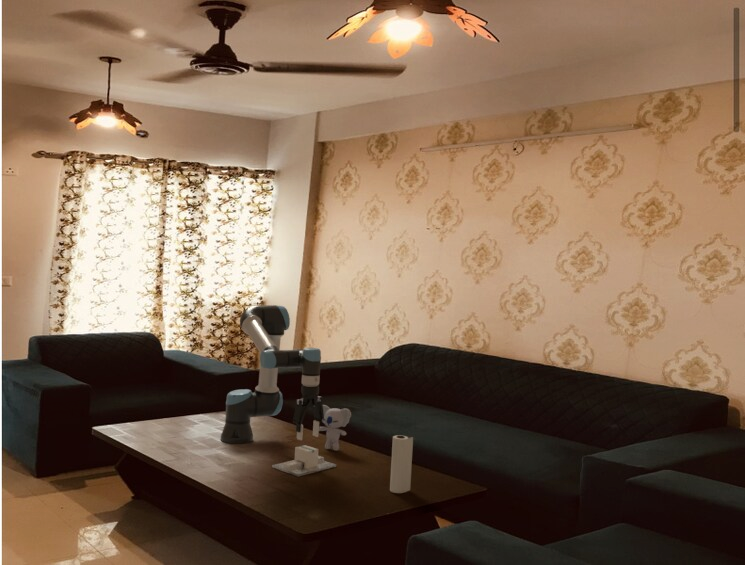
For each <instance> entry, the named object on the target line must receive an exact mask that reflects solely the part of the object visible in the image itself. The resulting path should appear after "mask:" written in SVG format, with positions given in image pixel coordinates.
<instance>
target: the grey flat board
mask: <svg viewBox="0 0 745 565" xmlns="http://www.w3.org/2000/svg"><path fill="white" fill-rule="evenodd" d="M294 460H295V459H292V460H287V461H284V462H281V463H275V464H272V465H271V468H273V469H276V470H278V471H281V472H284V473H285V474H286V473H287V474H290V475H292V476H295V477H303V476H305V475H310V474H314V473H318V472H321V471H325V470H329V469H333V468H336V467H337V464H336V463H332V462H329V461H326V460H325V457H324V456H321V455H318V466H314V467H310V468H305V467H304V464H305V462H302V461H295V462H294Z"/></svg>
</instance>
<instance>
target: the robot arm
mask: <svg viewBox="0 0 745 565" xmlns="http://www.w3.org/2000/svg"><path fill="white" fill-rule="evenodd" d="M290 323H291V318H290V314H289V311H288V309H287V308H286V306H283V305H274V304H273V305H262V304H261V305H258V304H254V305H251V306H248V307H247V308H246V309H245V310H243V311H242V313H241V315H240V317H239V325H240V328H241V330H242V331H243V333H245V334H246V335H248V337H249V338H250V339H251V341H252V343H253V344H254V346H255V347H256V349H257V350H258V352H259V353H260V355H259V364H260V365H259V374H258V385H256V386H255V389H254V392H252V390H251V389H248V388H245V389H243V388H242V389H235V390H231V391H229V392H228V393H227V395H226V401H225V418H224V419H225V420H224V422H225V423H224V426H223V429H222V432H221V434H220V440H221V441H222V442H223V443H228V444H237V445H238V444H240V445H241V444H247V443H248V444H249V443H251V442H252V441H254V434H253V431H252V426H251V418H257V417H258V418H259V417H273V416H277V415H278V414H279V413H280V412H281V410H282V408H283V402H284V398H283V393H282V392H281V391H280V388H279V387H278V386H277V383H278V372H279V369H281V368H282V369H283V368H287V369H288V368H290V369H291V368H301V369H302V371H301V389H300V393H301V395H302V396H301V398H300V399H297V398H296V399H295V408H294V412H293V417H292V423H293V424H296V426H295V427H296V429H295V431H296V440H297V441H302V440H303V436H304V435H303V431H304V424H303V422H304V419H305V416H306V413H307V411H308V410H309V408H311V410H312V415H313V417H314V420H313V422H312V423H313V425H312V437H316V438H318V437H319V434H320V431H319V428H320V427H321V422H322V419H324V413H323V405H324V404H323V401H324V400H323V399H324V397H323V396H319V394H320V380H321V378H320V376H321V375H320V374H321V364H322V363H321V362H322V351H321V349H320V348H317V347H305V348H304V349H302V348H295V349H284V350H283V349H281V347H280V346H281V339H282V337H283V336H284V335H285V331H287V330H289V328H290V325H291V324H290Z"/></svg>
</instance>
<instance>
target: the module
mask: <svg viewBox="0 0 745 565" xmlns="http://www.w3.org/2000/svg"><path fill="white" fill-rule="evenodd" d="M318 456H319V448H316V447H312V446H309V445H305V444H304V445H299V446H295V447H294V459H293V460H294V462H295V461H302V462H305V464H304V467H305V468H310V467H314V466H318Z"/></svg>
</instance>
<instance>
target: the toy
mask: <svg viewBox="0 0 745 565" xmlns="http://www.w3.org/2000/svg"><path fill="white" fill-rule="evenodd" d="M323 413H324V419H322V421H321V422H322V423H323V424H324V426H320V428H319V432H324V431H325V432H326V433H325V437H326V438H325V439H326V442H325V445H324V448H325V449H326V450H330V449H332V450H333V451H336V452H337V451H339V450H340V444H339V439H340V437H341V436H343V437H344V436H346V435H347V432H346V431H345V430H344V429H341V427H343V428H344V427H346V426H347V424H349V423H350V420H351V419H350V418H351V417H352V412H351V410H350V409H349V408H345V407H344V408H341V409H340V408H336V407H335V408H331V407H329V406H328V405H326V404H323Z"/></svg>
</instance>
